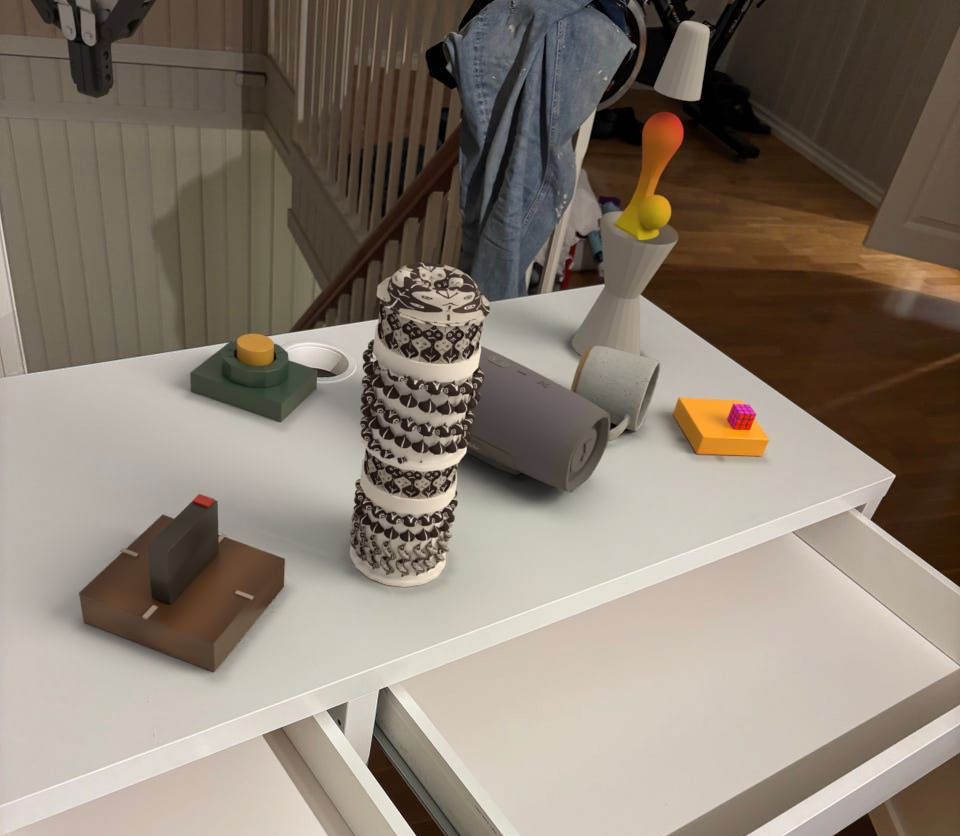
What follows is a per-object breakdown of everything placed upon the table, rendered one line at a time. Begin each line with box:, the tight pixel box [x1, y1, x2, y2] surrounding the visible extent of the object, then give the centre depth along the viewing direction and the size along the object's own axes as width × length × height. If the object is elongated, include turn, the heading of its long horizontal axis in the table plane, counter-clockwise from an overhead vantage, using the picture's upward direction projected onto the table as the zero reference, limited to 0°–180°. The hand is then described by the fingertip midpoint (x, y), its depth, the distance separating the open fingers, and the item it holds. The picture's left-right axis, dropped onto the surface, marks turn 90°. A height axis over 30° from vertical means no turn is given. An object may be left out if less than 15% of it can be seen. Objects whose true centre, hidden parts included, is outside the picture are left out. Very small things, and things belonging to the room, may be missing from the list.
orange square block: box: [672, 397, 770, 457], centre depth 108 cm, size 8×8×4 cm
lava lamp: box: [571, 20, 711, 357], centre depth 108 cm, size 9×9×35 cm
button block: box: [189, 340, 318, 423], centre depth 99 cm, size 10×8×4 cm
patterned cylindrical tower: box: [349, 261, 491, 588], centre depth 76 cm, size 9×9×25 cm
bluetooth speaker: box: [466, 345, 612, 494], centre depth 96 cm, size 23×9×10 cm, turn 56°
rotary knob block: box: [78, 514, 286, 673], centre depth 75 cm, size 11×11×3 cm
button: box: [236, 333, 275, 366], centre depth 97 cm, size 4×4×2 cm
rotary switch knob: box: [147, 493, 220, 604], centre depth 72 cm, size 7×2×5 cm, turn 161°
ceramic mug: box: [570, 346, 661, 443], centre depth 104 cm, size 11×8×8 cm
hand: (94, 93), depth 77 cm, fingers closed
